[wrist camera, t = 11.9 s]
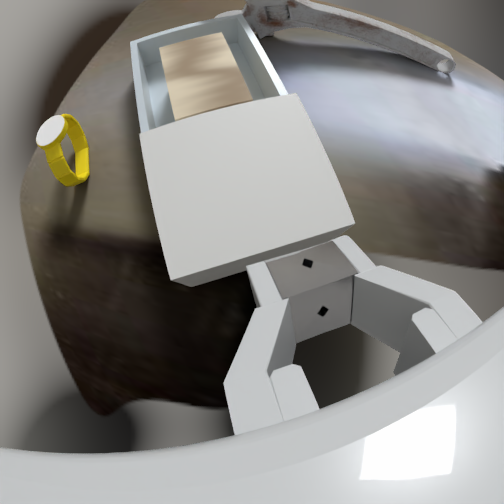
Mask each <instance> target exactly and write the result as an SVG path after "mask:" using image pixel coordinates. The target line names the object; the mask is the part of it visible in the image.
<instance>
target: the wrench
mask: <svg viewBox="0 0 504 504" xmlns="http://www.w3.org/2000/svg"><path fill="white" fill-rule="evenodd" d="M245 1H246V2H247V3H246V5H245V7H244V8H243V10H235V11H228V12H225V13H222V14H219V15H217V16H216V17H215V18H220V17H226V16H232V15H238V14H242V15H243V17H244V18H245V20H246V21H247V23H248V25H249V26H250V28H251V29H252V31H253V32H257V33H258V36H259V38H263V37H264V36H272V35H274V32H275V31H279V30H283V29H288V28H297V27H309V28H314V29H319V30H324V31H328V32H333V33H337V34H340V35H344V36H348V37H351V38H354V39H358V40H361V41H364V42H367V43H370V44H373V45H376V46H379V47H382V48H385V49H387V50H390V51H393V52H395V53H398V54H401V55H403V56H406V57H408V58H411V59H413V60H415V61H417V62H420V63H422V64H424V65H426V66H428V67H430V68H433V69H435V70H438V71H440V72H443V73H450V72H452V71H453V70H454V69H455V66H456V64H455V61H454V60H453V58H452V56H451V55H450V53H449V52H447V51H446V50H444V49H442V48H440V47H438V46H436V45H434V44H432V43H430V42H428V41H426V40H424V39H421V38H419V37H417V36H415V35H413V34H410V33H408V32H406V31H403V30H401V29H398V28H396V27H393V26H391V25H388V24H385V23H383V22H380V21H377V20H374V19H371V18H368V17H365V16H362V15H359V14H356V13H353V12H349V11H346V10H342V9H338V8H335V7H331V6H327V5H322V4H318V3H313V2H310V1H308V0H245ZM444 59H448V61H447V62H446V63H443V64H441V63H439V62H440V61H441V60H444Z"/></svg>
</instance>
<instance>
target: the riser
mask: <svg viewBox="0 0 504 504" xmlns="http://www.w3.org/2000/svg"><path fill="white" fill-rule="evenodd" d="M139 136H140V142H141V148H142V154H143V160H144V165H145V171H146V176H147V181H148V187H149V191H150V196H151V201H152V206H153V211H154V215H155V220H156V224H157V228H158V233H159V237H160V241H161V245H162V249H163V253H164V257H165V261H166V265H167V269H168V272H169V276H170V280H171V281H174V282H177V283H180V284H184V285H187V286H190V287H194V286H197V285H200V284H203V283H207V282H210V281H213V280H217V279H220V278H223V277H226V276H230V275H233V274H236V273H239V272H243V271H246V266H248V265H251V264H255V263H258V262H262V261H264V260H268V259H272V258H275V257H279V256H282V255H286V254H289V253H293V252H296V251H300V250H303V249H306V248H310V247H313V246H316V245H319V244H322V243H325V242H328V241H330V240H333V239H335V238H337V237H338V236H339V235H341V234H342V233H343V232H345V231H346V230H347V229H349V228H350V227H351V226H353V225H354V224H355V221H354V219H353V216H352V214H351V211H350V208H349V206H348V203H347V201H346V198H345V196H344V193H343V191H342V189H341V186H340V184H339V181H338V179H337V177H336V174H335V172H334V170H333V168H332V165H331V163H330V161H329V159H328V156H327V154H326V152H325V150H324V148H323V145H322V143H321V141H320V139H319V137H318V135H317V133H316V131H315V129H314V127H313V124H312V122H311V120H310V118H309V116H308V114H307V112H306V110H305V109H304V107H303V105H302V103H301V101H300V99H299V97H298V95H297V93H293V94H287V95H282V96H276V97H271V98H265V99H260V100H256V101H251V102H246V103H242V104H238V105H233V106H229V107H225V108H221V109H217V110H213V111H210V112H206V113H202V114H199V115H195V116H192V117H188V118H185V119H182V120H179V121H175V122H172V123H169V124H166V125H163V126H160V127H157V128H154V129H151V130H149V131H146V132H143V133H140V134H139Z"/></svg>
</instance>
